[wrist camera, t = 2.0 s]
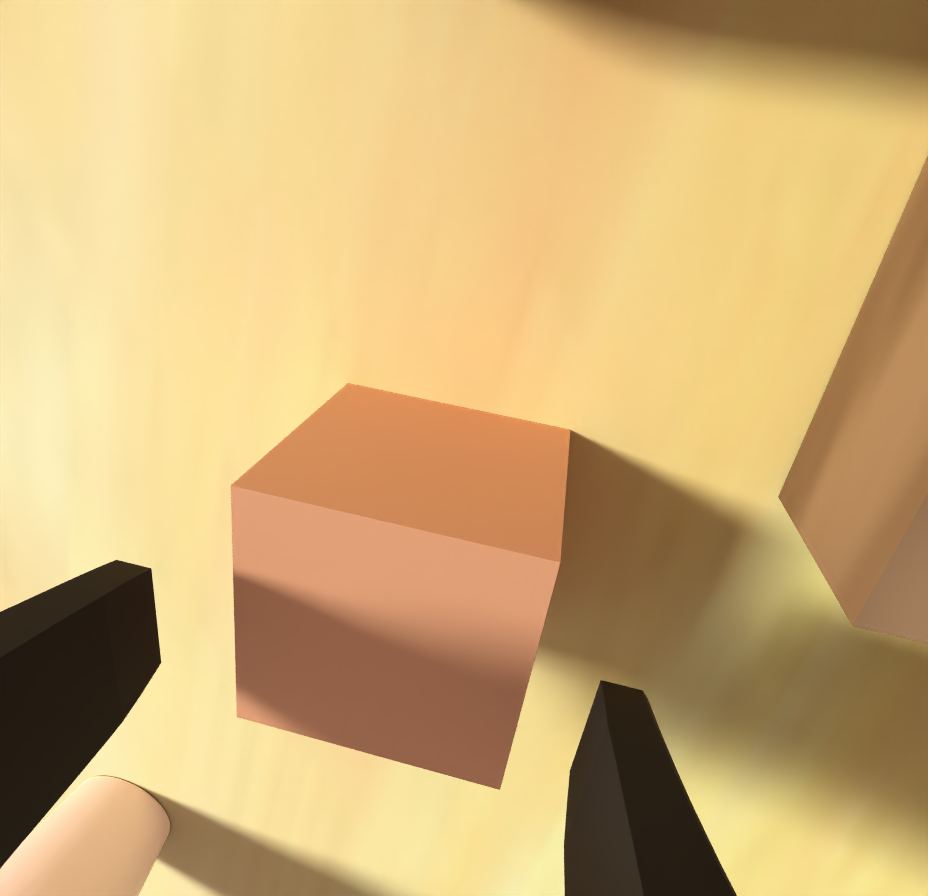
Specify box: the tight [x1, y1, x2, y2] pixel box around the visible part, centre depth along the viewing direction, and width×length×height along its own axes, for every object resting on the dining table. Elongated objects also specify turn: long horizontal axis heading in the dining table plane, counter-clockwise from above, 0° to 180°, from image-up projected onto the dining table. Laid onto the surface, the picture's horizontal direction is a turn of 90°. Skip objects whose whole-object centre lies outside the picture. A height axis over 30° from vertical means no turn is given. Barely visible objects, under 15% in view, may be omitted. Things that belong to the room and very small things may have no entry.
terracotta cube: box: [231, 383, 570, 790], centre depth 12 cm, size 5×5×5 cm
